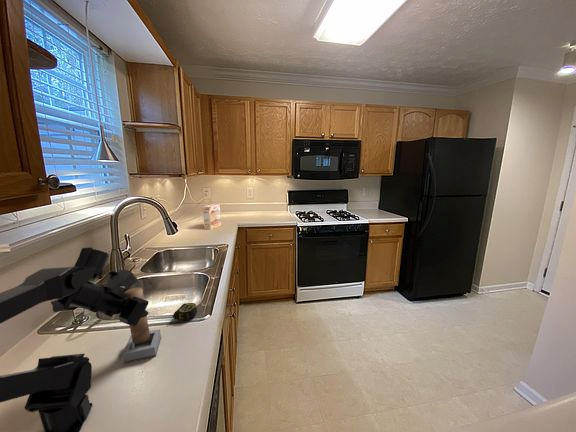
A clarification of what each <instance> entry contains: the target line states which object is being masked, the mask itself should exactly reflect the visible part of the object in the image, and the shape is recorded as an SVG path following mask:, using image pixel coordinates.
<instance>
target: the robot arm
mask: <svg viewBox="0 0 576 432" xmlns="http://www.w3.org/2000/svg"><path fill="white" fill-rule="evenodd" d="M109 258H110V254H109V253H108V252H106V251H102V250H99V249H94V248H93V247H82V248H81V250H80V253H79V255H78V257H77V260H76V262H75V263H74V266H63V267H62V266H61V267H48V268H47V267H45V268H41V269H39V270H37V271H35V272H34V273H32V274H30V275H28V276H27V277H26V278H25V279H24V280H23V282H22V283H21V284H19V285H17V286H14V287H11V288H9V289H6V290H5V291H2V292H0V325H1V324H2V323H5V322H7V321H8V320H10V319H13V318H14V317H17V316H18V315H20V314H22V313H25V312H26V311H28V310H30V309H32V308H34V307H36V306H37V305H40V304H42V303H45V302H49V301H51V302H50V304H51V305H52V311H53V313H61V312H63V311H68V310H69V308H70V306H71V307H76V308H79V309H83V310H87V311H90V312H92V313H96V314H97V313H99V314H102V315H105V316H108V317H111V318H113V315H114V316H115V315H119V316H118V320H119V322H121V323H123V324H126V325H129V326H130V325H131V326H135V325H137V324H138V322H139V320H140V318H142V317H146V316H147V317H148V315H149V311H147V310H145V309H147V307H148V305H149V301H148V300H147V299H145V298H144V299H141V298H138V297H135V296H134V297H132V298H129V299H128V300H125V297H126V295H127V293H125V292H126V291H127V290H130V289H131V287H132V286H133V285H134V284H137V282H138V281H139V278H137V276H136V275H135V274H134V272H132V270H128V269H119V270H118V271H116V270H112V269H110V270H109V271H108V272H107V273H106V274H105V275H106V284H104V285H103V284H100V283H99V284H98V283H94V282H95V280H98V279H101V278H102V276H103V273H104V270H105V268H106V266H107V264H108V261H109ZM92 368H93V366H92V363H91V362H90V358H89V357H88V356H85V353H77V354H76V353H75V354H67V355H66V354H64V355H55V356H54V355H53V356H50V357H45V358H44V357H41V358H38V361H37V366H35V368H33V369H29V370H25V371H19V372H13V373H6V374H3V375H0V404H1V403H4V402H7V401H11V400H14V399H15V400H16V399H18V398H22V397H26V396H28V398H27V400H26V402H25V405H24V409H25V410H26V411H27V412H28V413H34V412H38V414H39V417H40V418H39V419H41V420H40V421H41V423H42V427H43V430H44V432H80V431H81V430H82V428H83V425H84V423H85V421H87V419H88V417H89V414H90V412H91V410H92V407H93V402H90V399H89V395H88V394H87V393H88V391H90V389H91V387H92V373H93V371H92Z"/></svg>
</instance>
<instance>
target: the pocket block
mask: <svg viewBox="0 0 576 432" xmlns="http://www.w3.org/2000/svg"><path fill="white" fill-rule="evenodd" d="M149 333H150V337H149V339H148V340H146V341H145V342H142V343H139V344H134V343H133V342H132V336H131V335H130V336H129V339H128V340H127V343H126V344H125V346H124V349H123V351H122V354H121V357H122V361H123V362H122V363H123V364H128V363H133V362H136V361H140V360H145V359H149V358H154V357H156V356H157V354H158V351H159V347H160V343H161V340H162V334H161V329H156V330H155V329H154V330H151V331H150V330H149Z"/></svg>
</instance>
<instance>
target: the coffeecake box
mask: <svg viewBox="0 0 576 432" xmlns="http://www.w3.org/2000/svg"><path fill="white" fill-rule="evenodd" d="M202 215H203V225H204V229H205V230H213V229H215V228H218V227H221V226H222V217H221V216H222V215H221V204H220V203H212V204H208V205H203V206H202Z"/></svg>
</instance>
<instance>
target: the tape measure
mask: <svg viewBox="0 0 576 432" xmlns="http://www.w3.org/2000/svg"><path fill="white" fill-rule="evenodd" d="M197 313H198V306H197V304H196V303H195V302H187V303H186V302H185V303H182V304H181V305H180V307H179V308H177V309H176V310H175V311H174V312H173V315H172V319H174V320H176V321H177V320H180V321H186V320H191V319H193V318H194V317H195V316H196V315H197Z"/></svg>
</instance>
